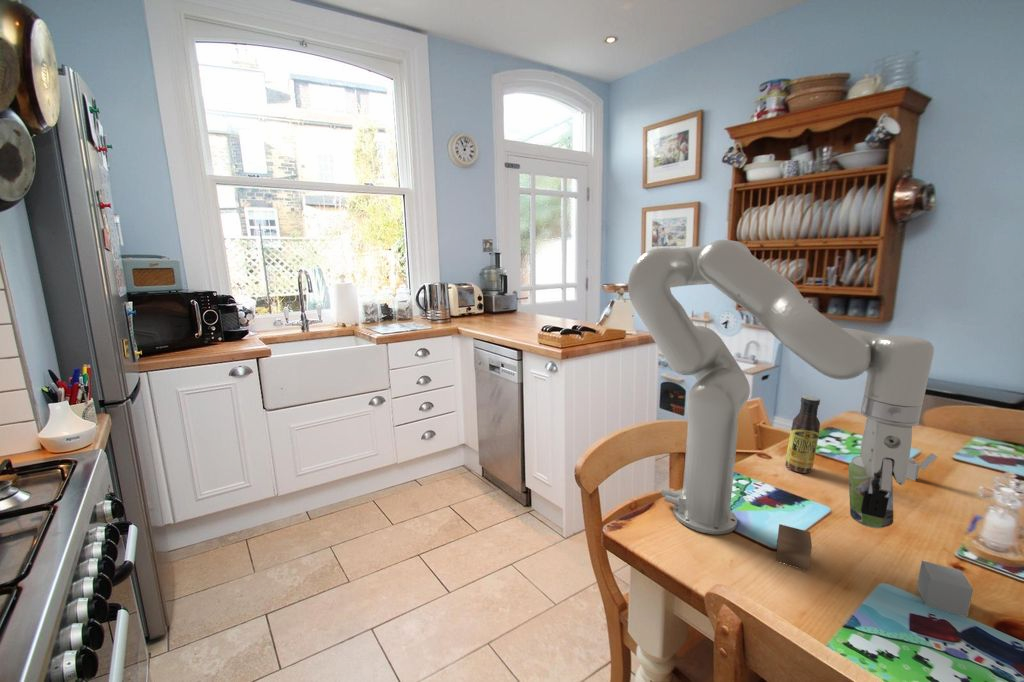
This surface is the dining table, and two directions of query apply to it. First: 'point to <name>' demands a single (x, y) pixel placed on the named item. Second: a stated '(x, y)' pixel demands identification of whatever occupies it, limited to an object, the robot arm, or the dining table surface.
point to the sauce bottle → (804, 436)
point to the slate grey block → (944, 588)
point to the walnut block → (794, 547)
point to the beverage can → (856, 493)
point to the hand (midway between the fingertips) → (870, 508)
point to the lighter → (918, 466)
